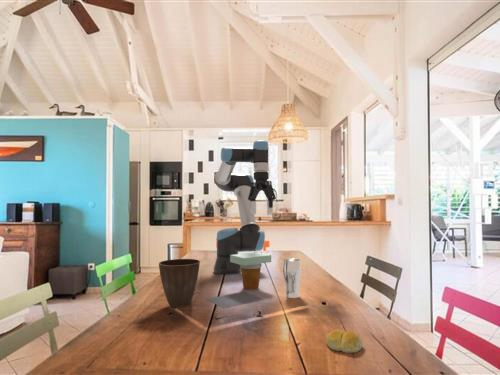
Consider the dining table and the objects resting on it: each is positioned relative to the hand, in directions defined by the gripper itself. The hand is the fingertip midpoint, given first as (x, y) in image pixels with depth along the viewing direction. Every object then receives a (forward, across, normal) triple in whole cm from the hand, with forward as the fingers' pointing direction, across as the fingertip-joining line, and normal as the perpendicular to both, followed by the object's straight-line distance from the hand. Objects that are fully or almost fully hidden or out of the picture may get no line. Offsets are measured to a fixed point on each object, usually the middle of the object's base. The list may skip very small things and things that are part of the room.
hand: (261, 214), depth 172 cm
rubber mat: (+32, +26, -32) cm, 52 cm away
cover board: (+20, +15, -17) cm, 30 cm away
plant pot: (+32, +18, -51) cm, 63 cm away
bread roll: (+32, +77, -30) cm, 88 cm away
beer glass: (+32, +35, -11) cm, 49 cm away
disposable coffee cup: (+32, +15, -17) cm, 39 cm away
